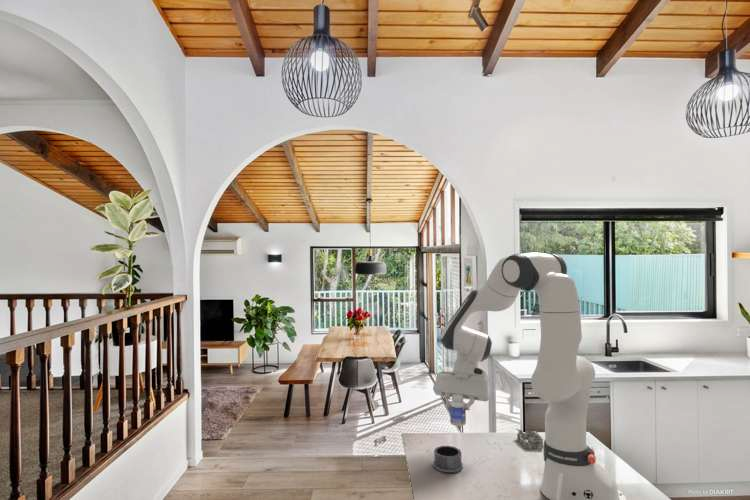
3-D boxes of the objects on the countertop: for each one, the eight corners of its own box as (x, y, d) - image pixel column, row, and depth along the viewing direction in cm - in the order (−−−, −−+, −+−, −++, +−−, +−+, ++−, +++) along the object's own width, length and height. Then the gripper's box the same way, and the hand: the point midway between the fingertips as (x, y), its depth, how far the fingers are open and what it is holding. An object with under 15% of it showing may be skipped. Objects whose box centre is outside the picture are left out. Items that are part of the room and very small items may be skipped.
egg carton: (515, 438, 167) (515, 427, 167) (535, 438, 167) (535, 427, 167) (524, 450, 157) (523, 438, 157) (545, 450, 156) (545, 438, 156)
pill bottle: (465, 427, 151) (465, 398, 151) (449, 426, 152) (449, 397, 152) (465, 421, 156) (465, 393, 156) (450, 420, 157) (450, 393, 158)
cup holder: (466, 463, 146) (466, 448, 146) (457, 476, 138) (457, 460, 138) (439, 457, 151) (438, 443, 151) (428, 469, 142) (428, 454, 143)
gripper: (435, 366, 166) (427, 399, 157) (490, 371, 156) (484, 407, 147) (440, 375, 169) (431, 408, 161) (493, 381, 160) (487, 416, 151)
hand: (457, 408), depth 154 cm, fingers closed on pill bottle, 5 cm apart
